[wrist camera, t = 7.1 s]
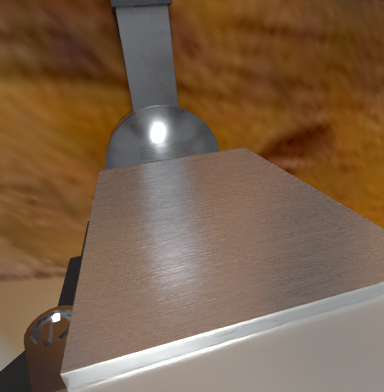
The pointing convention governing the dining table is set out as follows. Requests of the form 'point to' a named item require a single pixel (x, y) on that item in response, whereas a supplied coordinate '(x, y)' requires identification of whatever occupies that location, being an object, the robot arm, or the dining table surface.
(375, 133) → the dining table surface
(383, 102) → the dining table surface
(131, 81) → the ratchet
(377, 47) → the dining table surface
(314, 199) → the brushed metal cube
